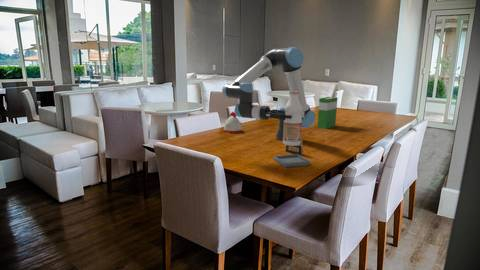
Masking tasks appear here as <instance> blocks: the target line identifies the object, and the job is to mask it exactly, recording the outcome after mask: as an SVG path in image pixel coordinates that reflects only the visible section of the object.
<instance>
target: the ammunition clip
mask: <svg viewBox="0 0 480 270" xmlns="http://www.w3.org/2000/svg"><path fill="white" fill-rule="evenodd" d="M303 147H304V146H303V134H302V133H301V142H300V145H297V146H289V145H285V152H286V153H290V154H298V155H300V156H302V155H303V153H304V149H303Z"/></svg>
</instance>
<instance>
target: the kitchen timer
mask: <svg viewBox="0 0 480 270" xmlns="http://www.w3.org/2000/svg"><path fill="white" fill-rule="evenodd" d="M224 131H225V132H224ZM241 131H243V127H242V122H241V121H240V120H239V118H238V116H236V115H235V111H231V112H230V114H229V117H228V118H227V119H226V120H225V122H224V127H223V132H224V133H227V132H229V134H238V133H237V132H239V133H242V132H241Z"/></svg>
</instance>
